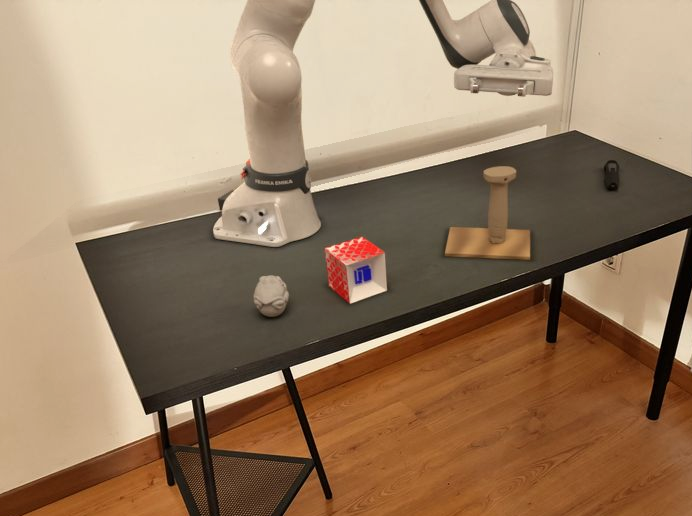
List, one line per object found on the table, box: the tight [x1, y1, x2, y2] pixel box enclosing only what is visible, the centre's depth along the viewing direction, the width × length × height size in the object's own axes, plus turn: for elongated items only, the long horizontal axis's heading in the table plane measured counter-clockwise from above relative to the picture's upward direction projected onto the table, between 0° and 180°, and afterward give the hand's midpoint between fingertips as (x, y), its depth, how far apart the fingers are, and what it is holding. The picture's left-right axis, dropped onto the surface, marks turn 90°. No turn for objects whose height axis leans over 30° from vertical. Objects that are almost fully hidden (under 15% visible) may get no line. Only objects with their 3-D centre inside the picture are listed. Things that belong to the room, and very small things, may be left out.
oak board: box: [444, 226, 531, 261], centre depth 148 cm, size 17×12×1 cm
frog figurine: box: [253, 274, 290, 318], centre depth 125 cm, size 6×7×7 cm
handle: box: [483, 165, 517, 244], centre depth 144 cm, size 5×6×15 cm
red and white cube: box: [324, 236, 388, 305], centre depth 132 cm, size 8×8×8 cm
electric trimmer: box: [603, 159, 620, 190], centre depth 176 cm, size 4×16×3 cm, turn 170°
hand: (497, 90), depth 141 cm, fingers open, 8 cm apart
